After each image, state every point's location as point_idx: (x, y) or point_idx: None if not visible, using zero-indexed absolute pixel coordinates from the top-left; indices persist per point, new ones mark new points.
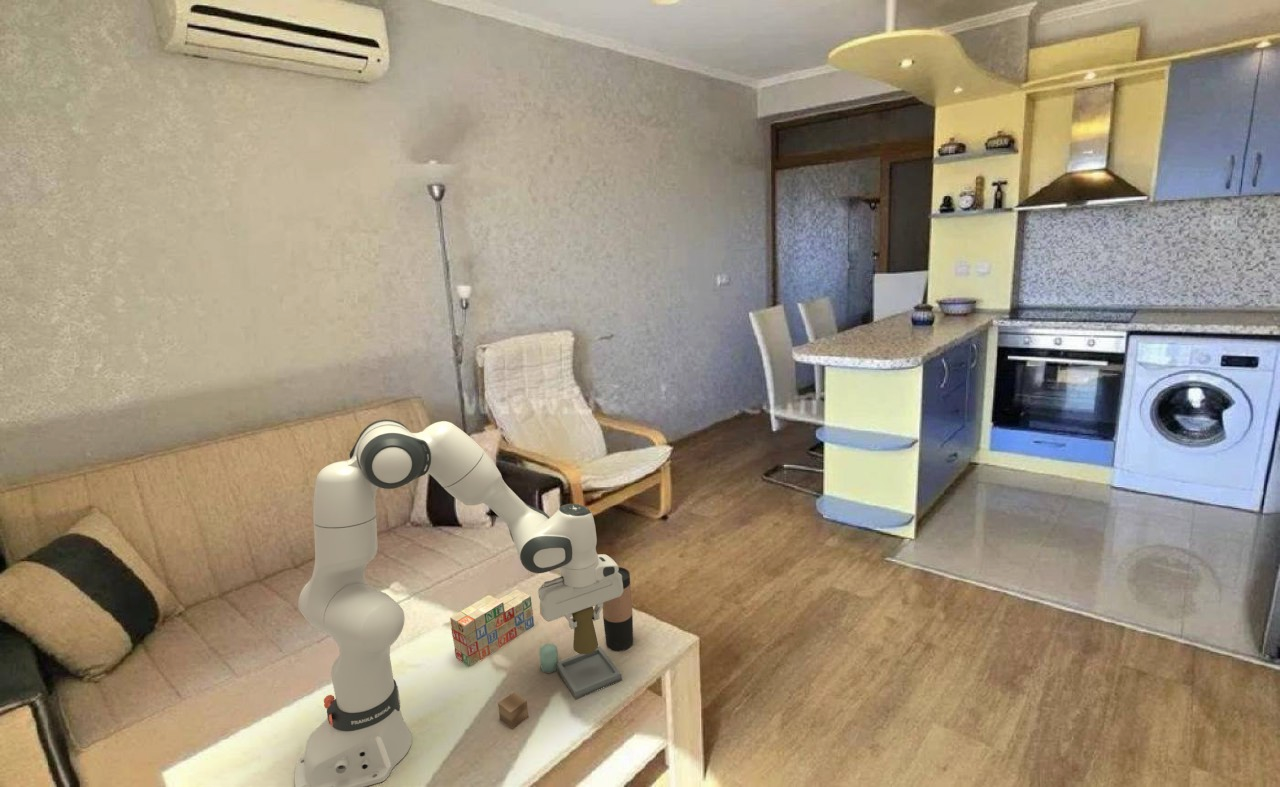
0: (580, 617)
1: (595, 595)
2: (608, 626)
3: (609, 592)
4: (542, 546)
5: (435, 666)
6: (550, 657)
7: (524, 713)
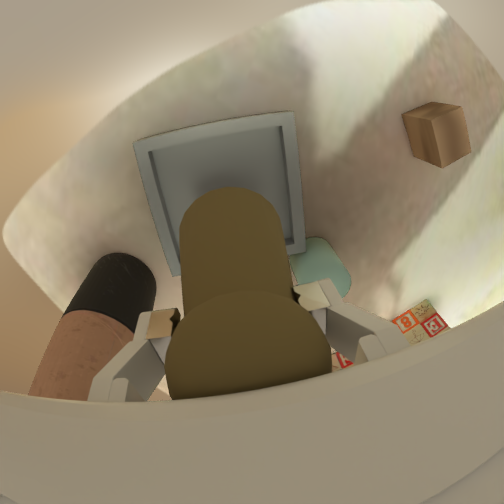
0: (295, 322)
1: (122, 495)
2: (133, 314)
3: (18, 451)
4: None
5: (452, 310)
6: (328, 260)
7: (418, 113)
